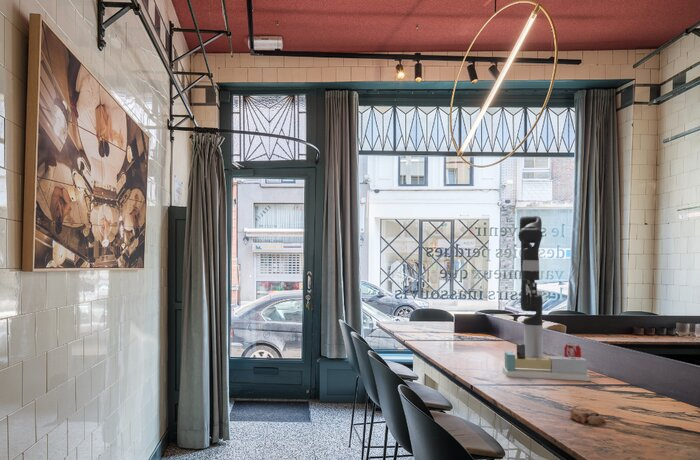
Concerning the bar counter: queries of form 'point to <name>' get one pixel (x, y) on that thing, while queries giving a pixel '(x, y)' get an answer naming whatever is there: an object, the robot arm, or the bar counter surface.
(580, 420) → the cookie
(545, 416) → the bar counter surface
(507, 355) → the socket
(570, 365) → the steel sleeve
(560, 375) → the board
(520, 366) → the tan knobbed slider
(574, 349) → the soda can
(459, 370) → the bar counter surface
